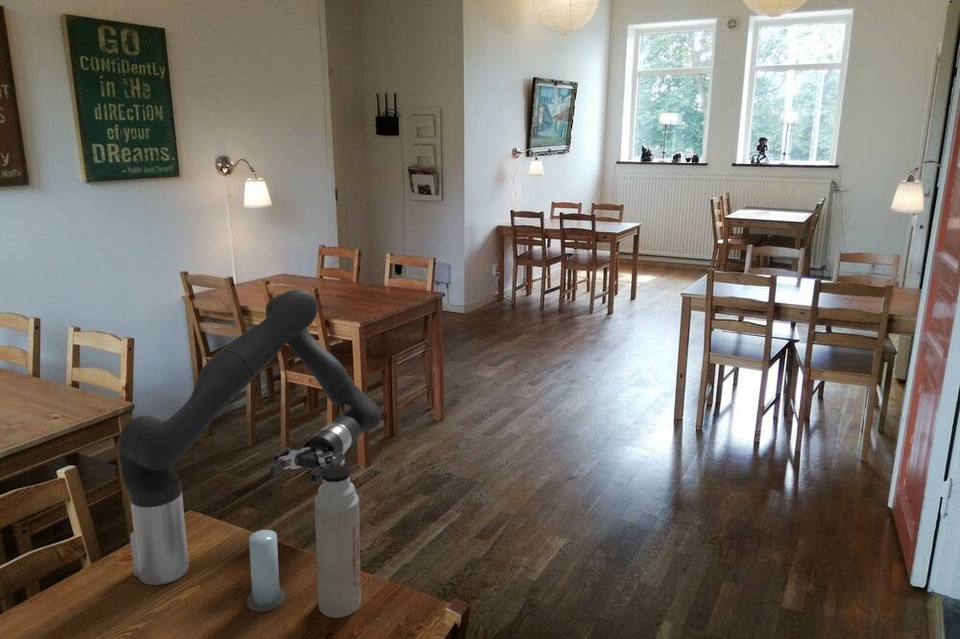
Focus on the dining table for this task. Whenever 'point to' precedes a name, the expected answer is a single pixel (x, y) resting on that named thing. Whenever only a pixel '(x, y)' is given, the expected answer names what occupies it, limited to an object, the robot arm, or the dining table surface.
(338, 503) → the thermos bottle
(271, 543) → the tall pale blue cylinder
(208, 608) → the dining table surface
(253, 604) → the coaster
